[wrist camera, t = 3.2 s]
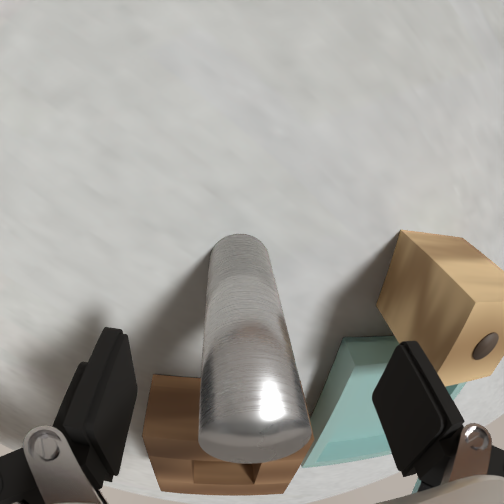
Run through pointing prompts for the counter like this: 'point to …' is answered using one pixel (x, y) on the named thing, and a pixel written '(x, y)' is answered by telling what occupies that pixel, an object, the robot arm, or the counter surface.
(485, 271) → the oak block
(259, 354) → the cylinder
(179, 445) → the bore block
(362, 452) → the tray
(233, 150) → the counter surface
